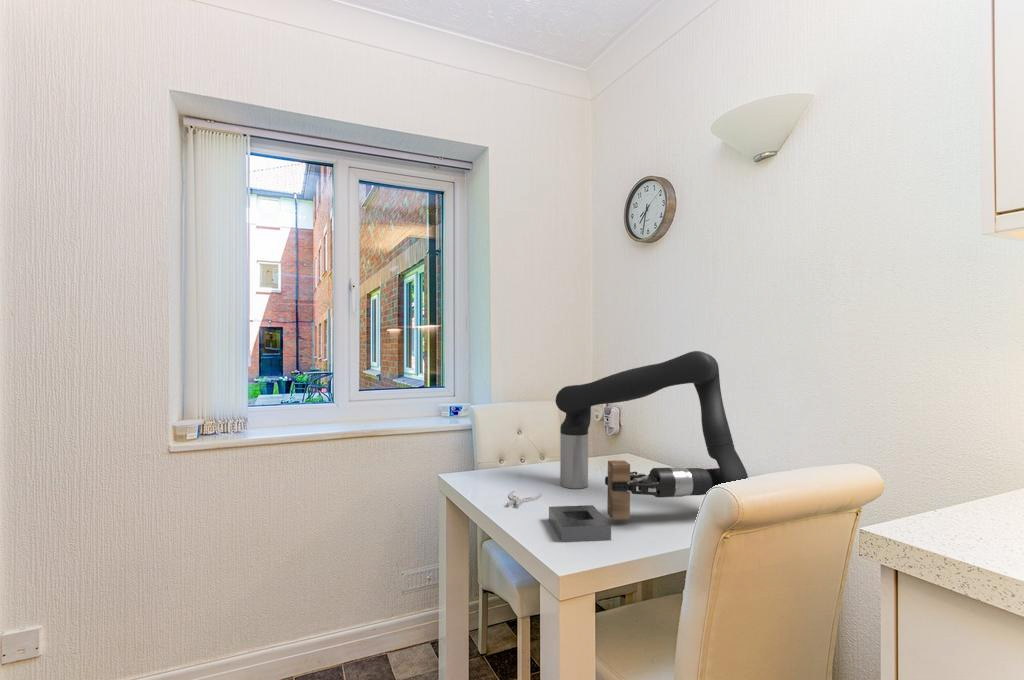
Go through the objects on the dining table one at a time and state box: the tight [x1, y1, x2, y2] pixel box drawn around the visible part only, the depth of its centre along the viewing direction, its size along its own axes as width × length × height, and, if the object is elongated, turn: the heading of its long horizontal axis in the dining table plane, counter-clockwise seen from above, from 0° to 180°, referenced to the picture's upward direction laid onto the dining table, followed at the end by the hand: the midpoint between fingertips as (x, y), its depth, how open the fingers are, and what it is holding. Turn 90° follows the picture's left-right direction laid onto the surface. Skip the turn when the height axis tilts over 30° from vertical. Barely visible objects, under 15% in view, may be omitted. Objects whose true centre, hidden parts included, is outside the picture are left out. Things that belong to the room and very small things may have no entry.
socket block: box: [548, 504, 612, 543], centre depth 122 cm, size 15×12×4 cm
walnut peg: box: [606, 459, 631, 520], centre depth 127 cm, size 4×4×14 cm
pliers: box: [506, 490, 543, 509], centre depth 145 cm, size 10×2×15 cm
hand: (608, 483), depth 127 cm, fingers closed on walnut peg, 4 cm apart
